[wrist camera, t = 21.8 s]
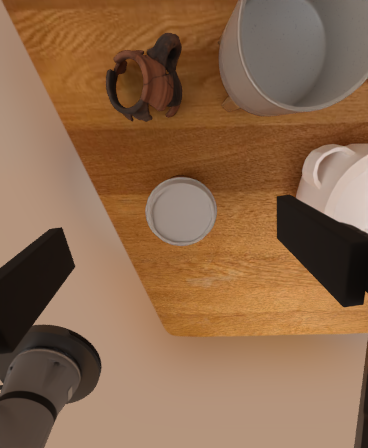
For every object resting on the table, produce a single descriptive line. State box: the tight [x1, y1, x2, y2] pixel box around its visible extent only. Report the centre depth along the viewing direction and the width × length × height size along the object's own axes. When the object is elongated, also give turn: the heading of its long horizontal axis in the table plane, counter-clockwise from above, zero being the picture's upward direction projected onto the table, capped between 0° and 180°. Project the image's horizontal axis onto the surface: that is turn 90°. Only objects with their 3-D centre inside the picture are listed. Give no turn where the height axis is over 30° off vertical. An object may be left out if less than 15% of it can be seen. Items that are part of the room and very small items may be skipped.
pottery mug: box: [106, 33, 182, 121], centre depth 34 cm, size 12×10×8 cm
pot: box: [296, 144, 368, 233], centre depth 38 cm, size 22×17×12 cm
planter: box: [218, 0, 368, 116], centre depth 28 cm, size 13×13×18 cm
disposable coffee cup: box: [145, 175, 217, 246], centre depth 37 cm, size 10×10×12 cm
